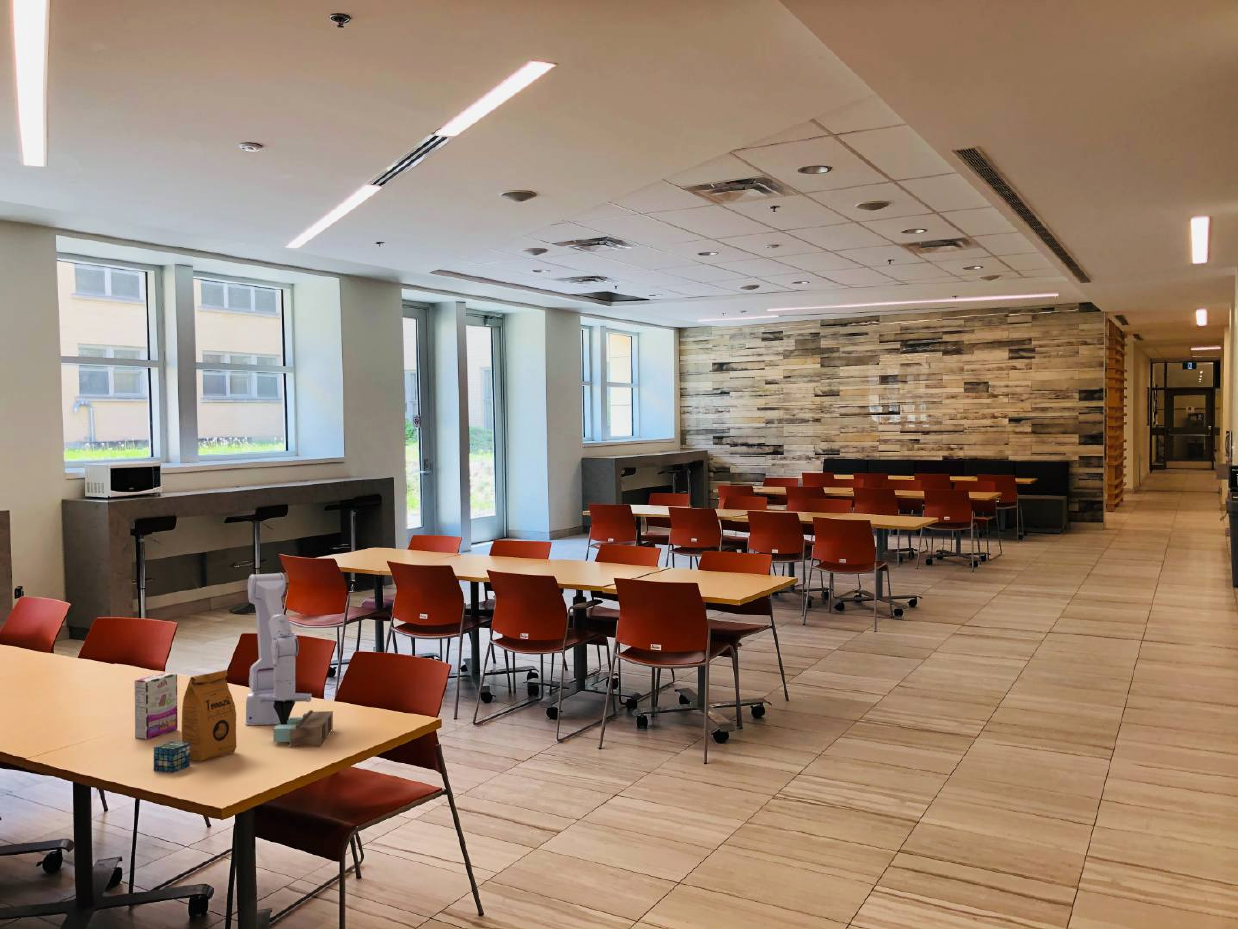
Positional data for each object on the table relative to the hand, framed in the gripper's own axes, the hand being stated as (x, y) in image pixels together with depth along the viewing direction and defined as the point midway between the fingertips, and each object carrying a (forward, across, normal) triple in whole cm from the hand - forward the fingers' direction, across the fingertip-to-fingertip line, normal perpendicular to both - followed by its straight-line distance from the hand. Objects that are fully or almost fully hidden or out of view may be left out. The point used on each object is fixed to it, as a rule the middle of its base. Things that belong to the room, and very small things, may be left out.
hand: (284, 727), depth 273 cm
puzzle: (+2, -20, -29) cm, 36 cm away
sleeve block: (+2, +9, -4) cm, 10 cm away
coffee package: (+2, -14, -19) cm, 24 cm away
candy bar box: (+2, -36, +4) cm, 37 cm away
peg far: (+2, +5, 0) cm, 6 cm away
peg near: (+2, +4, -8) cm, 9 cm away
